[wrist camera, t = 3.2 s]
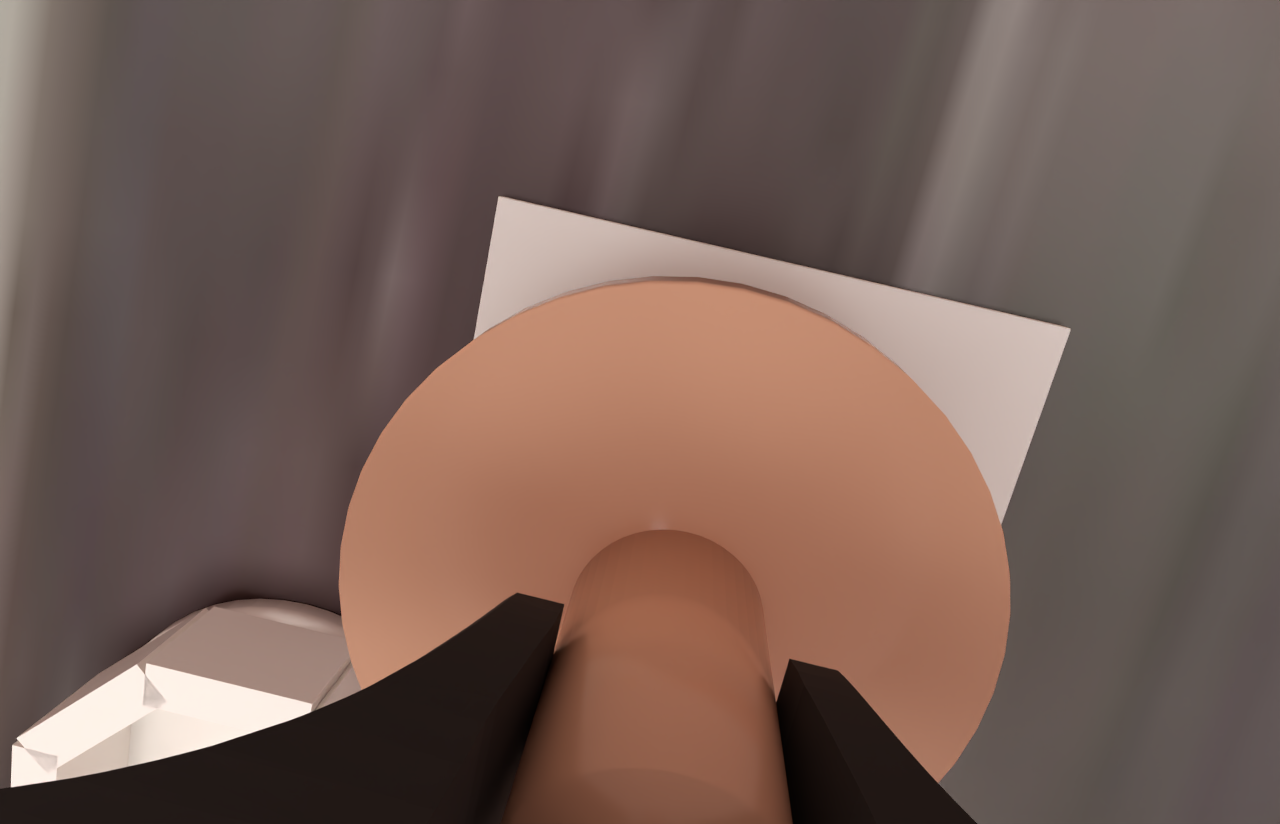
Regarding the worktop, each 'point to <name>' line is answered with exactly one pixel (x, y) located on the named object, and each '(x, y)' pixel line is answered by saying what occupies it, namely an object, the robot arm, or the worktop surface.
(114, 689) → the bowl
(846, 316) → the mat
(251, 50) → the worktop surface
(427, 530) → the lid
